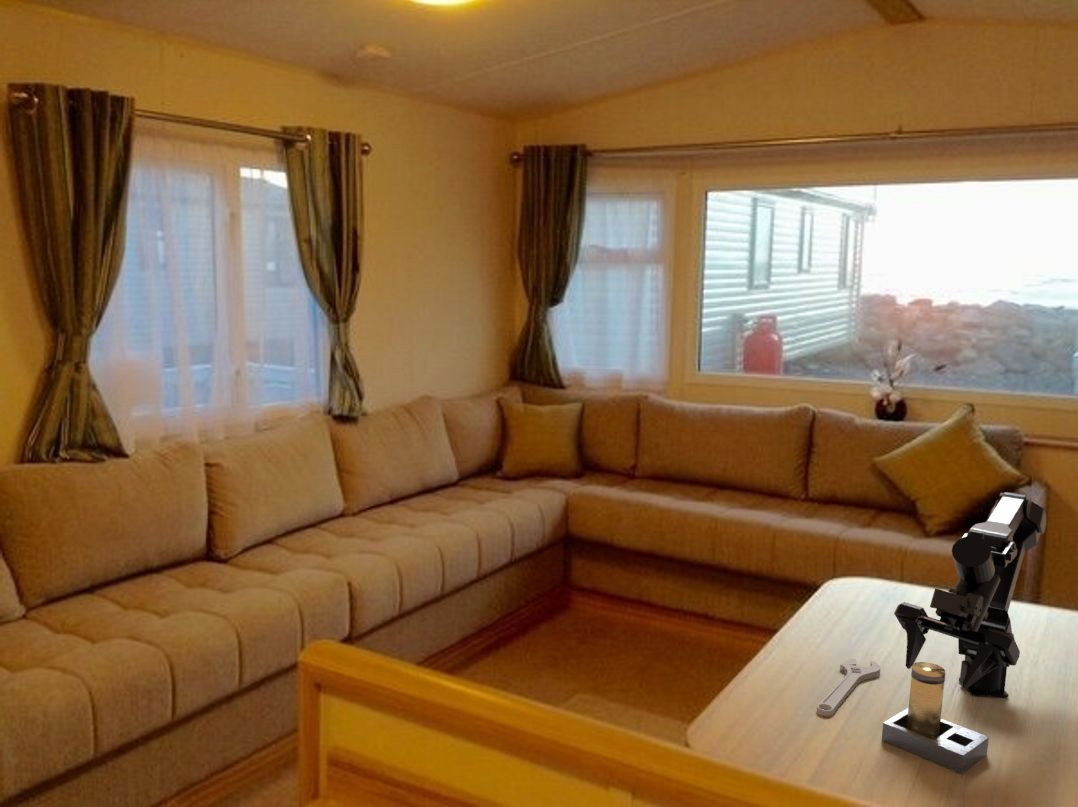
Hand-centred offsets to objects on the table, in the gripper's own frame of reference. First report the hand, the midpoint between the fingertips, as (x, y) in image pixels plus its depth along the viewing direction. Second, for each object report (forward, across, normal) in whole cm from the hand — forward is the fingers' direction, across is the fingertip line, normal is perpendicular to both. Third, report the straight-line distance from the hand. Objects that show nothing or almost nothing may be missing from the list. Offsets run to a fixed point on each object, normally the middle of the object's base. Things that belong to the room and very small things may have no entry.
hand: (934, 677), depth 148 cm
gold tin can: (+9, 0, +5) cm, 11 cm away
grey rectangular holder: (+9, +2, +5) cm, 11 cm away
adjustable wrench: (+4, -18, +11) cm, 22 cm away
